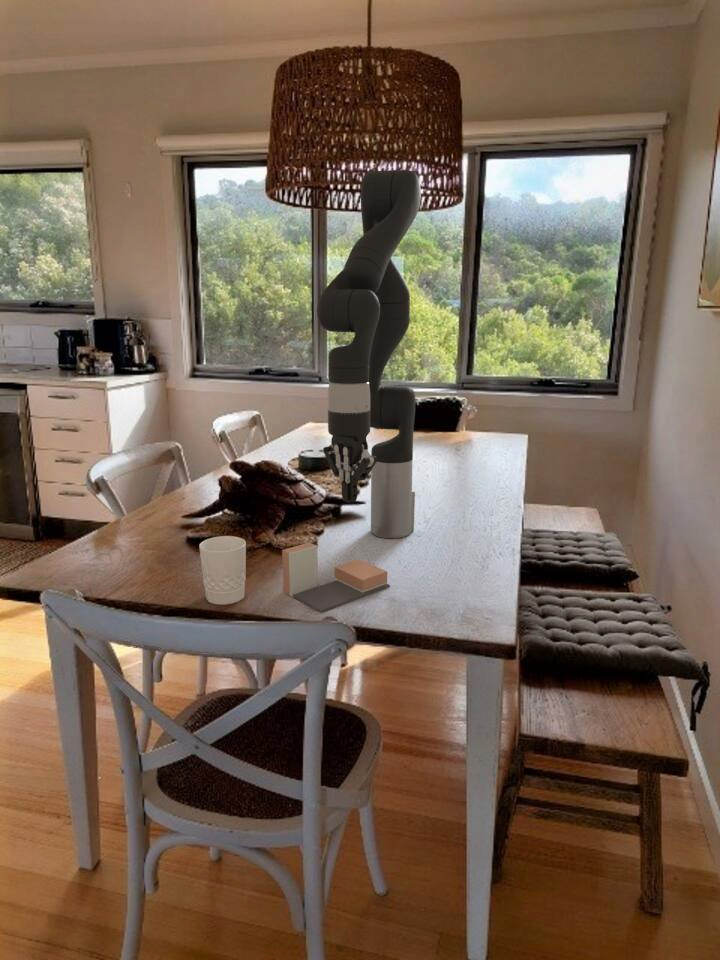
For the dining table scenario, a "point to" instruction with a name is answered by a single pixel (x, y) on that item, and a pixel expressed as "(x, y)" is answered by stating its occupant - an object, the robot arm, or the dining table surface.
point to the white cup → (223, 569)
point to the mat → (332, 595)
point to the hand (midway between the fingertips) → (349, 500)
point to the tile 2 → (360, 575)
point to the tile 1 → (300, 568)
